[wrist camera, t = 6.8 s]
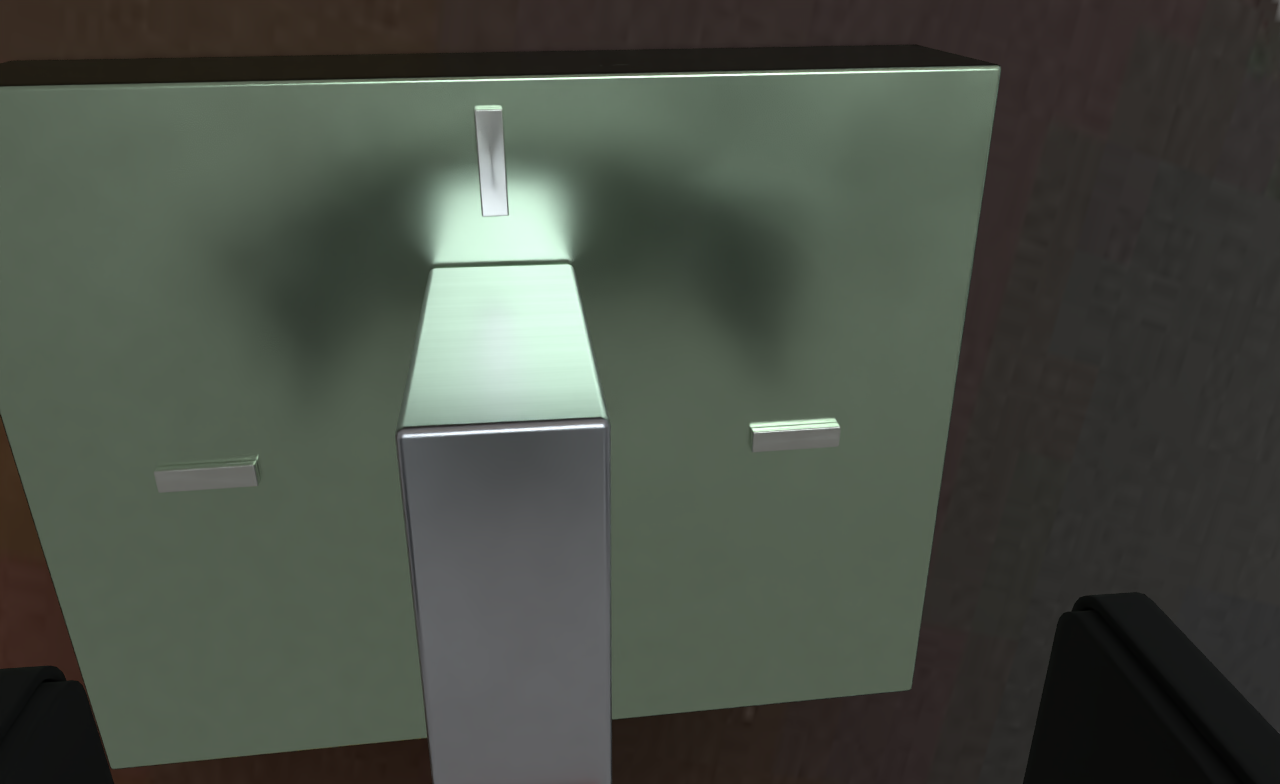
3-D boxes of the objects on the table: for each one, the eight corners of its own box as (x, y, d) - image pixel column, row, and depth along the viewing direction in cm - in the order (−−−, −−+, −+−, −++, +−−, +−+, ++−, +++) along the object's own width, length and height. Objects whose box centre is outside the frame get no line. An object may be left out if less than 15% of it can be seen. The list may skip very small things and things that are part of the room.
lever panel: (918, 44, 16) (1009, 65, 13) (858, 593, 21) (916, 697, 18) (8, 60, 14) (-114, 89, 11) (164, 653, 19) (105, 779, 16)
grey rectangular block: (428, 266, 13) (389, 443, 9) (574, 262, 14) (614, 432, 9) (458, 620, 16) (441, 907, 11) (580, 612, 16) (615, 890, 11)
